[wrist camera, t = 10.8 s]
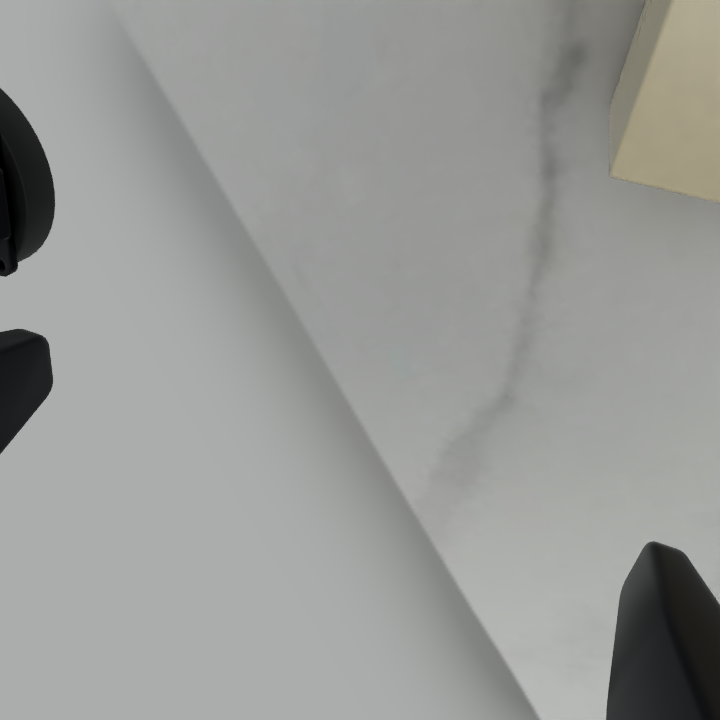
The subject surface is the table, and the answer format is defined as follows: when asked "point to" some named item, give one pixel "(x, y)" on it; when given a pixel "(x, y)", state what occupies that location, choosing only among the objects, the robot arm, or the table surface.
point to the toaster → (670, 101)
